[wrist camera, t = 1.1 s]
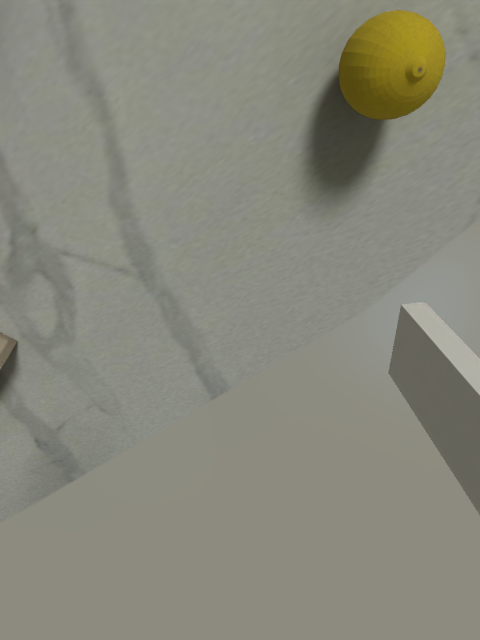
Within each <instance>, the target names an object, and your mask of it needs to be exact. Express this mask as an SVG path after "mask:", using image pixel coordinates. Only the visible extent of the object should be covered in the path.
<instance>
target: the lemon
mask: <svg viewBox="0 0 480 640" xmlns="http://www.w3.org/2000/svg"><path fill="white" fill-rule="evenodd" d="M445 54H446V53H445V48H444V42H443V40H442V38H441V35H440V33H439V31H438V29H437V28H436V27H435V26H434V25H433V24H432V23H431V22H430V21H429V20H428V19H426V18H424V17H422V16H420V15H419V14H417V13H414V12H408V11H401V10H396V11H390V12H384V13H381V14H379V15H377V16H375V17H373V18H371V19H369V20H367V21H366V22H365V23H364V24H363V25H361V26H360V27H359V28H358V29H357V30H356V31H355V32H354V34H353V35H352V36H351V37H350V39H349V40H348V42H347V44H346V46H345V48H344V50H343V52H342V55H341V59H340V63H339V76H338V78H339V83H340V88H341V91H342V93H343V95H344V98H345V100H346V101H347V102H348V103H349V104H350V106H351V107H352V108H353V109H354V110H355V111H357V112H359V113H360V114H362V115H363V116H365V117H369V118H373V119H377V120H385V119H395V118H398V117H402V116H405V115H408V114H409V113H411V112H413V111H414V110H416V109H418V108H419V107H420V106H422V105H423V104H424V103H425V102H426V101H427V100H428V99H429V98H430V97H431V95H432V94H433V93H434V91H435V90H436V89H437V87H438V84H439V82H440V80H441V78H442V75H443V71H444V67H445Z"/></svg>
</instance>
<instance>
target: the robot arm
mask: <svg viewBox="0 0 480 640" xmlns="http://www.w3.org/2000/svg"><path fill="white" fill-rule="evenodd" d="M389 375H390V376H391V378H392V379H393V381H394V382H395V384H396V385H397V387H398V388H399V390H400V392H401V393H402V395H403V396H404V398H405V399H406V401H407V402H408V404H409V405H410V407H411V409H412V410H413V412H414V413H415V415H416V416H417V418H418V420H419V421H420V423H421V424H422V426H423V427H424V429H425V430H426V432H427V434H428V435H429V437H430V438H431V440H432V441H433V443H434V444H435V446H436V448H437V449H438V451H439V452H440V454H441V455H442V457H443V458H444V460H445V461H446V463H447V465H448V466H449V467H450V469H451V471H452V472H453V474H454V476H455V477H456V479H457V480H458V482H459V483H460V485H461V486H462V488H463V490H464V491H465V492H466V494H467V495H468V497H469V499H470V500H471V502H472V503H473V505H474V507H475V508H476V510H477V511H478V513H479V514H480V359H479V358H478V357H477V356H476V355H475V354H474V353H473V352H472V351H471V350H470V349H469V348H468V347H467V346H466V345H465V343H464V342H463V341H462V340H461V339H460V338H459V337H458V336H457V335H456V334H455V333H454V332H453V331H452V330H451V329H450V328H449V327H448V326H447V325H446V324H445V323H444V322H443V321H442V320H441V319H440V317H439V316H437V314H436V313H435V312H434V311H433V310H432V309H431V308H430V307H429V306H428V305H427V304H426V303H424V302H421V303H412V304H402V305H401V308H400V314H399V320H398V325H397V330H396V336H395V341H394V346H393V352H392V357H391V363H390V369H389Z"/></svg>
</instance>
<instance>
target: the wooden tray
mask: <svg viewBox="0 0 480 640" xmlns="http://www.w3.org/2000/svg"><path fill="white" fill-rule="evenodd" d="M16 343H17V341H16V340H14V339H12V338H10V337H8V336H6V335H4V334H2V333H0V369H1V367H2V366H3V365H4V363H5V362H6V360H7V358H8V356H9V355H10V353H11V351H12V350H13V348H14V346H15V345H16Z"/></svg>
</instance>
